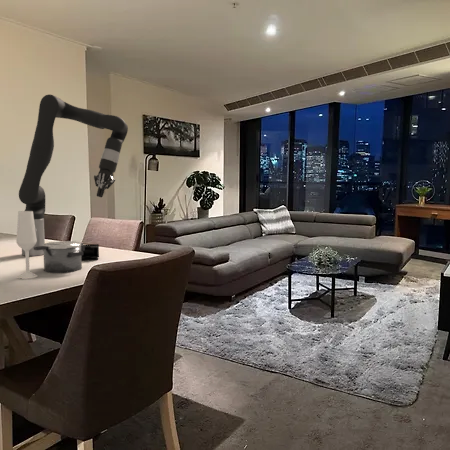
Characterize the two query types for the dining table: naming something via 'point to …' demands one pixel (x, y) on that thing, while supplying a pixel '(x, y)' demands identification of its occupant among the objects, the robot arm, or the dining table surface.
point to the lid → (59, 245)
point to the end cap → (90, 252)
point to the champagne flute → (26, 238)
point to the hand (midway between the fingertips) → (99, 196)
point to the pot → (63, 260)
